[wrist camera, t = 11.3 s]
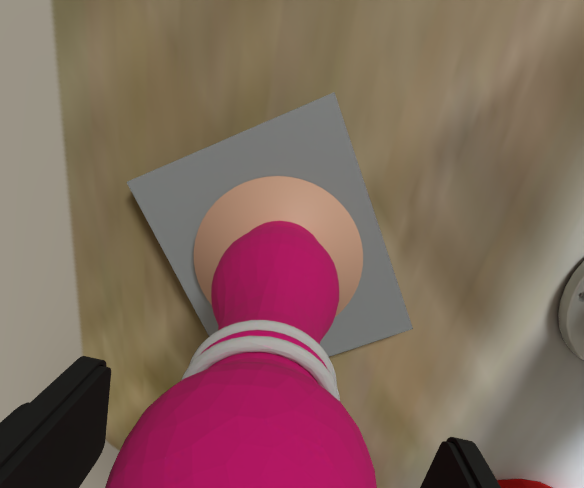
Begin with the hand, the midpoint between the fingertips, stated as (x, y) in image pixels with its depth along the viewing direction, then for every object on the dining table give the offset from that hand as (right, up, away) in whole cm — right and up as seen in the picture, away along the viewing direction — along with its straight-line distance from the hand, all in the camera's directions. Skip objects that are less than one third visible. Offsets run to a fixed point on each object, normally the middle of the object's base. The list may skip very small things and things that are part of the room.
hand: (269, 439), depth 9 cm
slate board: (0, +5, +16) cm, 16 cm away
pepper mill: (0, +4, +14) cm, 15 cm away
